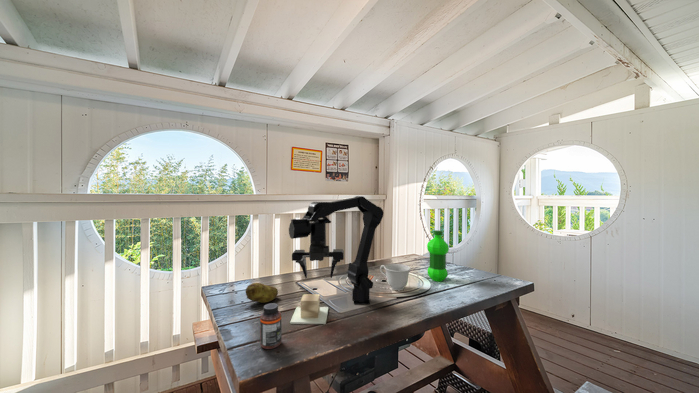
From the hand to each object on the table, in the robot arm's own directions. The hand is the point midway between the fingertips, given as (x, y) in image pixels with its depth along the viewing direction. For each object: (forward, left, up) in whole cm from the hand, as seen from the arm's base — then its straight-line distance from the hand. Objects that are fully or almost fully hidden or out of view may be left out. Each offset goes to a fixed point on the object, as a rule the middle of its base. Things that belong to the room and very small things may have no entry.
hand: (318, 277), depth 100 cm
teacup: (-32, -25, -13) cm, 43 cm away
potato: (+24, -9, -13) cm, 28 cm away
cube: (+3, +3, -12) cm, 13 cm away
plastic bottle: (-56, -37, -13) cm, 68 cm away
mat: (+3, +3, -13) cm, 13 cm away
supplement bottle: (+12, +21, -13) cm, 27 cm away
